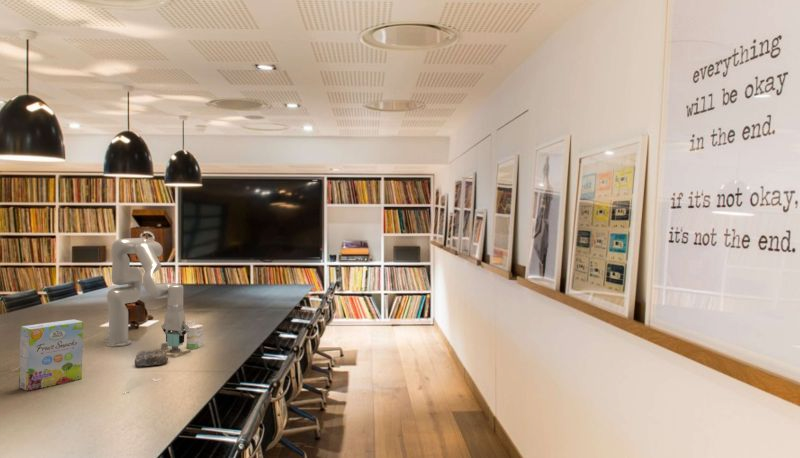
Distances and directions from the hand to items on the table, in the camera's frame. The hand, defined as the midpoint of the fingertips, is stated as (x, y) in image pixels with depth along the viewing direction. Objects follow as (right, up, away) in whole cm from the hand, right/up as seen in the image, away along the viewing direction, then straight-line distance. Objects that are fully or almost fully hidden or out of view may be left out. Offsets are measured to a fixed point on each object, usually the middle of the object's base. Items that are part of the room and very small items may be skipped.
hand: (175, 341), depth 279 cm
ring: (0, -1, 0) cm, 1 cm away
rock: (-3, -7, -19) cm, 21 cm away
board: (-3, -6, +1) cm, 7 cm away
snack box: (-31, -7, -52) cm, 60 cm away
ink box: (+5, -6, +14) cm, 16 cm away
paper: (+8, -8, -48) cm, 50 cm away
